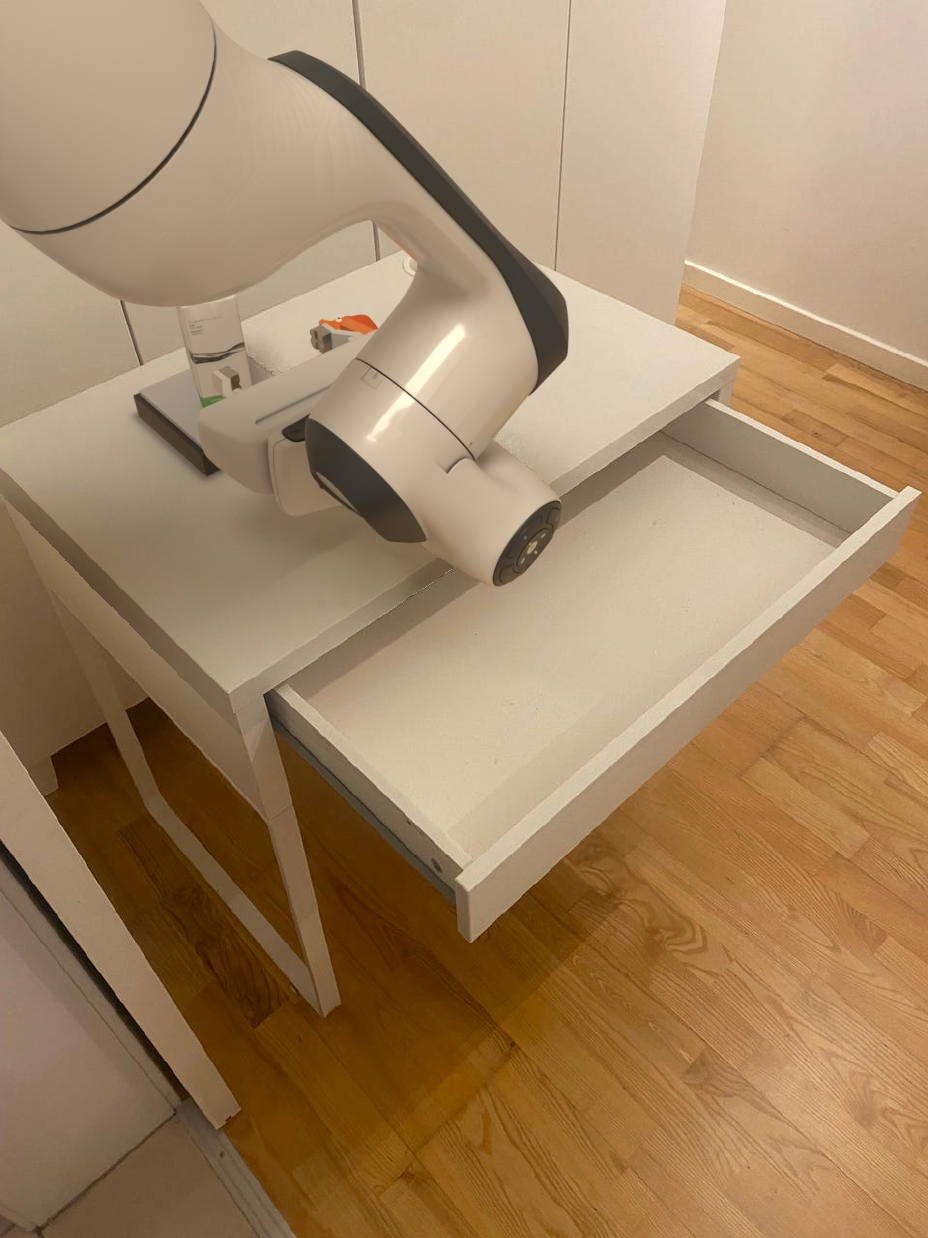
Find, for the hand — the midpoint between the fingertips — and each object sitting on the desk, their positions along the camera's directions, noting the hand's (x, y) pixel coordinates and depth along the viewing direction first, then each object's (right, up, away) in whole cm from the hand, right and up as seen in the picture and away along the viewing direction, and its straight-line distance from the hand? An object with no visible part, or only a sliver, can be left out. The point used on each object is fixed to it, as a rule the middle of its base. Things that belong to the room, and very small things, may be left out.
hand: (269, 354), depth 77 cm
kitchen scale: (-7, -2, +15) cm, 17 cm away
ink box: (-7, 0, +14) cm, 15 cm away
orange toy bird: (+6, +4, +21) cm, 22 cm away
